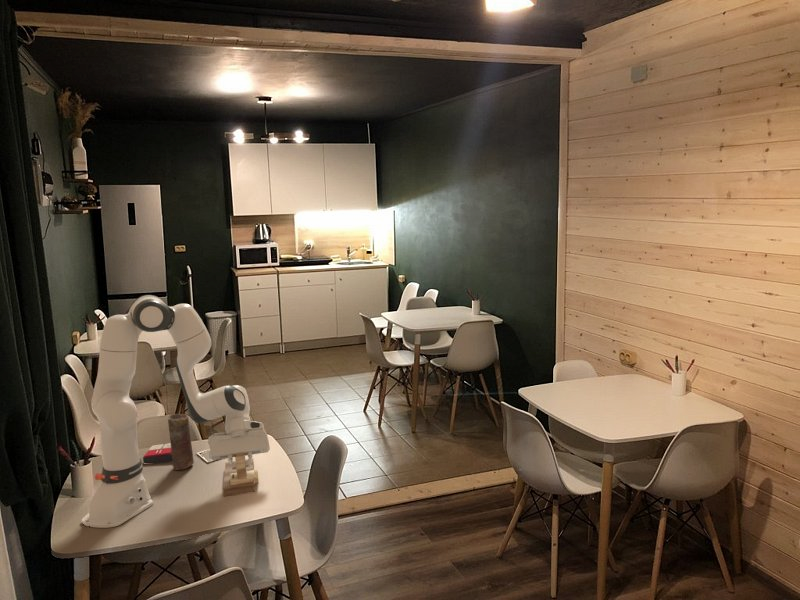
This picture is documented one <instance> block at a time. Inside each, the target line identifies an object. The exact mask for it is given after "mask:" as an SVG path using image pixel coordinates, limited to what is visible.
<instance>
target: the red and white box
mask: <svg viewBox="0 0 800 600" xmlns="http://www.w3.org/2000/svg"><path fill="white" fill-rule="evenodd" d="M142 459H143V460H142V461H143V462H142V463H143V464H144V463H153V464H162V463H161V462H164V463H169V462H170V463H171V462H172V463H173V460H172V452H171V442H169V443H162V444H161V443H160V444H156V445H151V447H150V448H149V449H148V450H147V452H146V453H145V455H144V456H143V457H142Z"/></svg>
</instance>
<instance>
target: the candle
mask: <svg viewBox="0 0 800 600" xmlns="http://www.w3.org/2000/svg"><path fill="white" fill-rule="evenodd" d="M167 423H168V431H169V440H170V442H169V443H171V452H172V460H173V462H172V466H173V467H172V469H173V470H174V471H178V470H186V469H187V468H189V467H191V466H192V465H193V464H194V463H195V461H194V454H193V445H192V444H193V443H192V438H191V437H192V436H191V429H190V420H189V414H185V413H173V414H170V415H169V416H168V417H167Z"/></svg>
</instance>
